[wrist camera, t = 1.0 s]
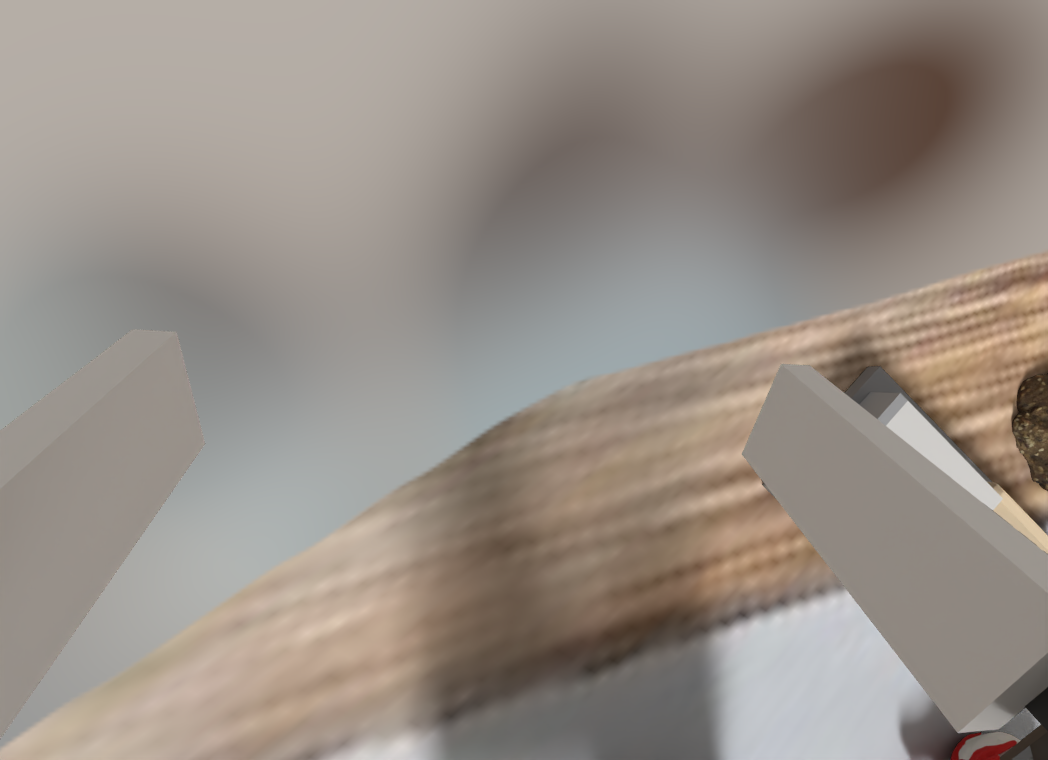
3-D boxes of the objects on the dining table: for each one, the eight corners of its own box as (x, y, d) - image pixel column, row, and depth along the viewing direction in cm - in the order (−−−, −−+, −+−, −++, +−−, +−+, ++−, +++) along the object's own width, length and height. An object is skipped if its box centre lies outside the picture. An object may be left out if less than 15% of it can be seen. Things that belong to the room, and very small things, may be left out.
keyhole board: (1050, 554, 51) (1111, 573, 46) (952, 672, 50) (1003, 703, 45) (867, 366, 49) (910, 365, 44) (762, 484, 48) (794, 496, 43)
